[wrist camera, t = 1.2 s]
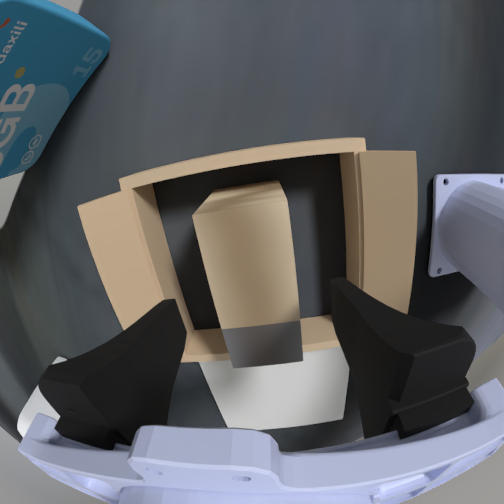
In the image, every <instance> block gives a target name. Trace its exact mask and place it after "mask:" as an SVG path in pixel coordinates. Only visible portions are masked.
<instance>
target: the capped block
mask: <svg viewBox="0 0 504 504" xmlns="http://www.w3.org/2000/svg"><path fill="white" fill-rule="evenodd" d="M192 217H193V222H194V226H195V230H196V234H197V238H198V243H199V247H200V251H201V255H202V259H203V263H204V267H205V270H206V274H207V278H208V282H209V286H210V290H211V293H212V297H213V301H214V304H215V308H216V311H217V315H218V319H219V322H220V326H221V329H222V332H223V336H224V339H225V343H226V346H227V349H228V353H229V356H230V359H231V363H232V366H233V368H246V367H258V366H268V365H277V364H286V363H294V362H301V361H303V348H302V335H301V323H300V311H299V300H298V289H297V279H296V269H295V260H294V251H293V242H292V234H291V225H290V217H289V209H288V202H287V199H286V196H285V194H284V192H283V189H282V187H281V185H280V182H279V180H273V181H266V182H259V183H252V184H246V185H240V186H234V187H228V188H222V189H216V190H214V191H213V192H212V193H211V194H210V196H209V197H208V198H207V199H206V200H205V201H204V202H203V204H202V205H201V206H200V207H199V208H198V209H197V210H196V212H195V213H194V214H193V215H192Z"/></svg>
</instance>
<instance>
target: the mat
mask: <svg viewBox="0 0 504 504" xmlns="http://www.w3.org/2000/svg"><path fill="white" fill-rule="evenodd" d="M199 364H200V366H201V368H202V371H203V373H204V376H205V378H206V380H207V383H208V385H209V387H210V390H211V392H212V394H213V397H214V399H215V401H216V403H217V405H218V408H219V410H220V412H221V414H222V416H223V418H224V420H225V423H226V425H227V427H228V428H232V427H235V428H247V429H255V430H261V429H274V428H285V427H294V426H302V425H310V424H316V423H323V422H329V421H334V420H340V419H343V414H344V408H345V401H346V393H347V385H348V377H349V366H348V364H347V361H346V359H345V356H344V353H343V351H342V348H341V346H340V347H334V348H329V349H323V350H316V351H310V352H303V361H301V362H294V363H286V364H277V365H268V366H258V367H246V368H233V366H232V363H231V360H225V361H206V362H199Z"/></svg>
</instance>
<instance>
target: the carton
mask: <svg viewBox="0 0 504 504" xmlns="http://www.w3.org/2000/svg"><path fill="white" fill-rule="evenodd" d="M330 153H339V157H340V166H341V176H342V187H343V200H344V215H345V235H346V279H347V280H349V281H350V282H351V283H353V284H354V285H356V286H357V287H358V288H360V289H361V290H363V291H364V292H366V293H367V294H369V295H370V296H372V297H373V298H375V299H377V300H379V301H380V302H382V303H384V304H386V305H387V306H389V307H391V308H394V309H396V310H398V311H400V312H403V313H405V314H408V308H409V301H410V295H411V288H412V280H413V271H414V261H415V250H416V234H417V163H416V151H366V145H365V138H333V139H321V140H310V141H300V142H292V143H283V144H276V145H268V146H261V147H255V148H248V149H242V150H236V151H231V152H225V153H220V154H214V155H209V156H204V157H200V158H195V159H190V160H186V161H181V162H177V163H173V164H169V165H165V166H161V167H157V168H153V169H149V170H145V171H141V172H138V173H135V174H132V175H129V176H126V177H124V178H121V179H119V182H120V186H121V191H119V192H116V193H113V194H110V195H107V196H104V197H101V198H98V199H96V200H93V201H90V202H87V203H84V204H81V205H79V206H78V211H79V214H80V218H81V221H82V225H83V228H84V231H85V234H86V237H87V241H88V244H89V247H90V249H91V252H92V255H93V258H94V261H95V264H96V266H97V269H98V272H99V274H100V277H101V279H102V282H103V284H104V287H105V289H106V292H107V294H108V297H109V299H110V301H111V303H112V306H113V308H114V310H115V313H116V315H117V317H118V319H119V321H120V323H121V325H122V328H123V330H125V329H127V328H128V327H129V326H131V325H132V324H133V323H135V322H136V321H137V320H138V319H140V318H141V317H142V316H143V315H144V314H146V313H147V312H148V311H149V310H150V309H152V308H153V307H154V306H155V305H157V304H158V303H159V302H161V301H162V300H165V299H176V302H177V305H178V308H179V311H180V314H181V316H182V319H183V322H184V325H185V328H186V330H187V337H186V344H185V349H184V353H183V356H182V359H181V362H206V361H225V360H231V359H230V356H229V353H228V349H227V346H226V343H225V339H224V336H223V332H222V329H221V328H215V329H202V330H194V327H193V324H192V321H191V318H190V315H189V312H188V309H187V306H186V303H185V300H184V297H183V294H182V291H181V288H180V285H179V281H178V278H177V275H176V272H175V268H174V265H173V261H172V258H171V255H170V251H169V247H168V244H167V240H166V237H165V233H164V229H163V225H162V222H161V218H160V214H159V210H158V206H157V202H156V197H155V193H154V189H153V185H152V183H154V182H158V181H163V180H167V179H171V178H176V177H180V176H185V175H190V174H194V173H199V172H204V171H209V170H215V169H220V168H226V167H231V166H237V165H243V164H249V163H256V162H262V161H269V160H277V159H284V158H292V157H301V156H310V155H320V154H330ZM300 323H301V335H302V348H303V352H310V351H316V350H323V349H329V348H334V347H340V343H339V341H338V338H337V336H336V333H335V330H334V326H333V322H332V318H331V314H330V315H324V316H317V317H311V318H304V319H300Z"/></svg>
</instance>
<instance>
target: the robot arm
mask: <svg viewBox="0 0 504 504" xmlns="http://www.w3.org/2000/svg"><path fill="white" fill-rule="evenodd" d="M444 179H445V180H446V182H445V184H444V183H443V181H444ZM500 179H501V180H500ZM438 269H439V270H438ZM437 270H438V271H437ZM458 271H459V272H461V273H462V274H463V275H464V276H465V277H466V278H467V279H469V280H470V281H471V282H472V283H473V284H474V285H475V286H476V287H477V288H478V289H480V290H481V291H482V292H483V293H484V294H485V295H486V296H487V297H488V298H489V299H490V300H491V301H492V302H493V303H494V304H495V305H496V306H497V307H498V308H499V309H500V310H501V311H502V312H503V313H504V174H438V175H436V176H435V177H434V179H433V220H432V236H431V248H430V257H429V266H428V274H429V275H430V276H431V277H436V276H441V275H445V274H449V273H453V272H458ZM330 290H331V318H332V322H333V326H334V330H335V333H336V336H337V338H338V341H339V343H340V346H341V348H342V351H343V353H344V356H345V359H346V361H347V364H348V366H349V369H350V372H351V375H352V378H353V382H354V386H355V391H356V395H357V400H358V404H359V409H360V415H361V420H362V426H363V432H364V439H363V440H359V441H355V442H350V443H346V444H341V445H336V446H330V447H325V448H319V449H312V450H305V451H297V452H280V451H279V448H278V444H277V442H276V441H275V440H274V439H273V438H272V437H271V436H270V435H269V434H267V433H264V432H261V431H257V430H255V429H247V428H235V427H232V428H203V427H179V426H167V419H168V411H169V404H170V398H171V393H172V389H173V385H174V381H175V378H176V375H177V372H178V369H179V366H180V363H181V359H182V356H183V353H184V349H185V344H186V337H187V330H186V328H185V325H184V322H183V319H182V316H181V314H180V311H179V308H178V305H177V302H176V299H165V300H162V301H161V302H159V303H158V304H157V305H155V306H154V307H153V308H152V309H150V310H149V311H148V312H147V313H146V314H144V315H143V316H142V317H141V318H140V319H138V320H137V321H136V322H135V323H133V324H132V325H131V326H129V327H128V328H127V329H125V330H124V331H123V332H121V333H120V334H119V335H117V336H116V337H114V338H113V339H111V340H109V341H108V342H106V343H104V344H103V345H101V346H99V347H97V348H95V349H93V350H91V351H89V352H87V353H85V354H82V355H80V356H77V357H75V358H72V359H69V360H66V361H63V362H59V363H56V364H52V365H49V366H48V368H47V369H46V370H45V372H44V373H43V375H42V376H41V378H40V379H39V381H38V387H39V390H40V392H41V394H42V395H43V397H44V398H45V399H46V401H47V402H48V403H49V404H50V405H51V406H52V408H53V409H54V410H55V411H56V412H57V413H58V414H59V415H60V418H59V420H58V421H57V420H55V419H54V418H52V417H50V416H47V415H44V414H41V413H37V414H36V416H35V418H34V420H33V421H32V423H31V425H30V427H29V429H28V430H27V432H26V434H25V436H24V438H23V440H22V442H21V444H20V445H19V448H18V450H19V452H21V453H22V454H23V455H24V456H26V457H27V458H28V459H29V460H30V461H31V462H32V463H34V464H35V465H36V466H38V467H39V468H40V469H41V470H43V471H44V472H45V473H47V474H48V475H50V476H51V477H53V478H54V479H56V480H58V481H60V482H62V483H64V484H66V485H68V486H71V487H73V488H75V489H77V490H79V491H81V492H84V493H86V494H88V495H90V496H93V497H95V498H97V499H100V500H102V501H105V502H107V503H110V504H398V503H401V502H404V501H406V500H409V499H411V498H413V497H416V496H418V495H420V494H422V493H425V492H427V491H429V490H431V489H433V488H435V487H437V486H439V485H441V484H443V483H445V482H447V481H448V480H450V479H452V478H454V477H456V476H458V475H459V474H461V473H463V472H465V471H467V470H468V469H470V468H472V467H473V466H475V465H476V464H478V463H480V462H481V461H483V460H485V459H486V458H488V457H489V456H491V455H492V454H493V453H494V452H495V451H496V450H497V449H498V448H499V447H500V446H501V445H502V444H503V443H504V389H503V387H502V386H501V384H500V383H499V381H498V380H497V378H494V379H492V380H490V381H488V382H486V383H484V384H482V385H480V386H478V387H477V388H475V389H474V390H473V391H472V392H471V393H469V392H468V390H467V388H466V387H467V386H468V385H469V382H468V380H467V379H466V377H465V376H466V374H467V371H468V369H469V367H470V365H471V363H472V361H473V358H474V355H475V352H476V345H475V342H474V340H473V339H472V338H471V337H470V335H469V334H468V333H467V332H466V330H465V329H464V328H463V327H462V326H454V325H446V324H440V323H435V322H431V321H427V320H423V319H419V318H416V317H414V316H411V315H408V314H405V313H403V312H400V311H398V310H396V309H394V308H391V307H389V306H387V305H386V304H384V303H382V302H380V301H379V300H377V299H375V298H373V297H372V296H370V295H369V294H367V293H366V292H364V291H363V290H361V289H360V288H358V287H357V286H356V285H354V284H353V283H351V282H350V281H349V280H347V279H346V278H344V277H339V278H333V279H330Z"/></svg>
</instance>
